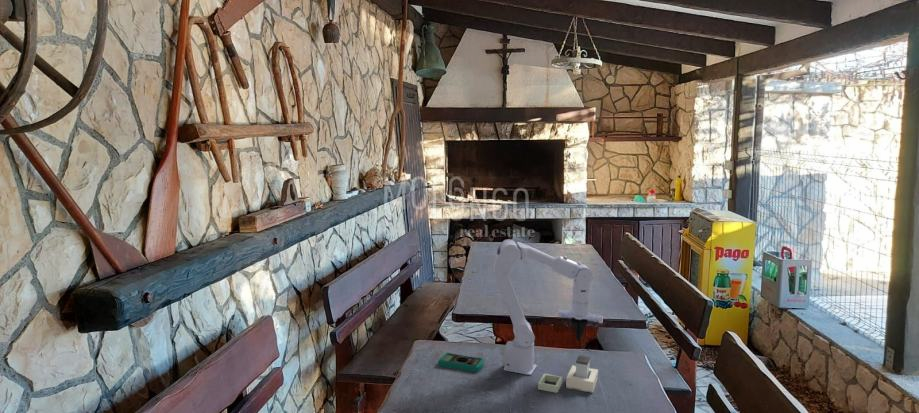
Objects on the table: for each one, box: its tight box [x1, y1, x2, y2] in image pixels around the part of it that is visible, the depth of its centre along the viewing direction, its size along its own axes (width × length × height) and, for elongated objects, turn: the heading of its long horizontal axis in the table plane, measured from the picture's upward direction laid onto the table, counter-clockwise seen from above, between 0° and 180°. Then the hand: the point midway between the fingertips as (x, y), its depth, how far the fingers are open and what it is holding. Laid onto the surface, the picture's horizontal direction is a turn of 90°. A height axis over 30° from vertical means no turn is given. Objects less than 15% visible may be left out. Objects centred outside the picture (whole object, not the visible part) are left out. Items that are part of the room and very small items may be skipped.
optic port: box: [565, 364, 599, 394], centre depth 180 cm, size 8×10×4 cm
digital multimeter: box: [437, 352, 485, 374], centre depth 192 cm, size 7×15×3 cm, turn 70°
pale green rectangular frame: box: [537, 373, 564, 394], centre depth 178 cm, size 6×8×2 cm
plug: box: [575, 354, 591, 379], centre depth 179 cm, size 4×5×8 cm
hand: (579, 340), depth 189 cm, fingers closed
